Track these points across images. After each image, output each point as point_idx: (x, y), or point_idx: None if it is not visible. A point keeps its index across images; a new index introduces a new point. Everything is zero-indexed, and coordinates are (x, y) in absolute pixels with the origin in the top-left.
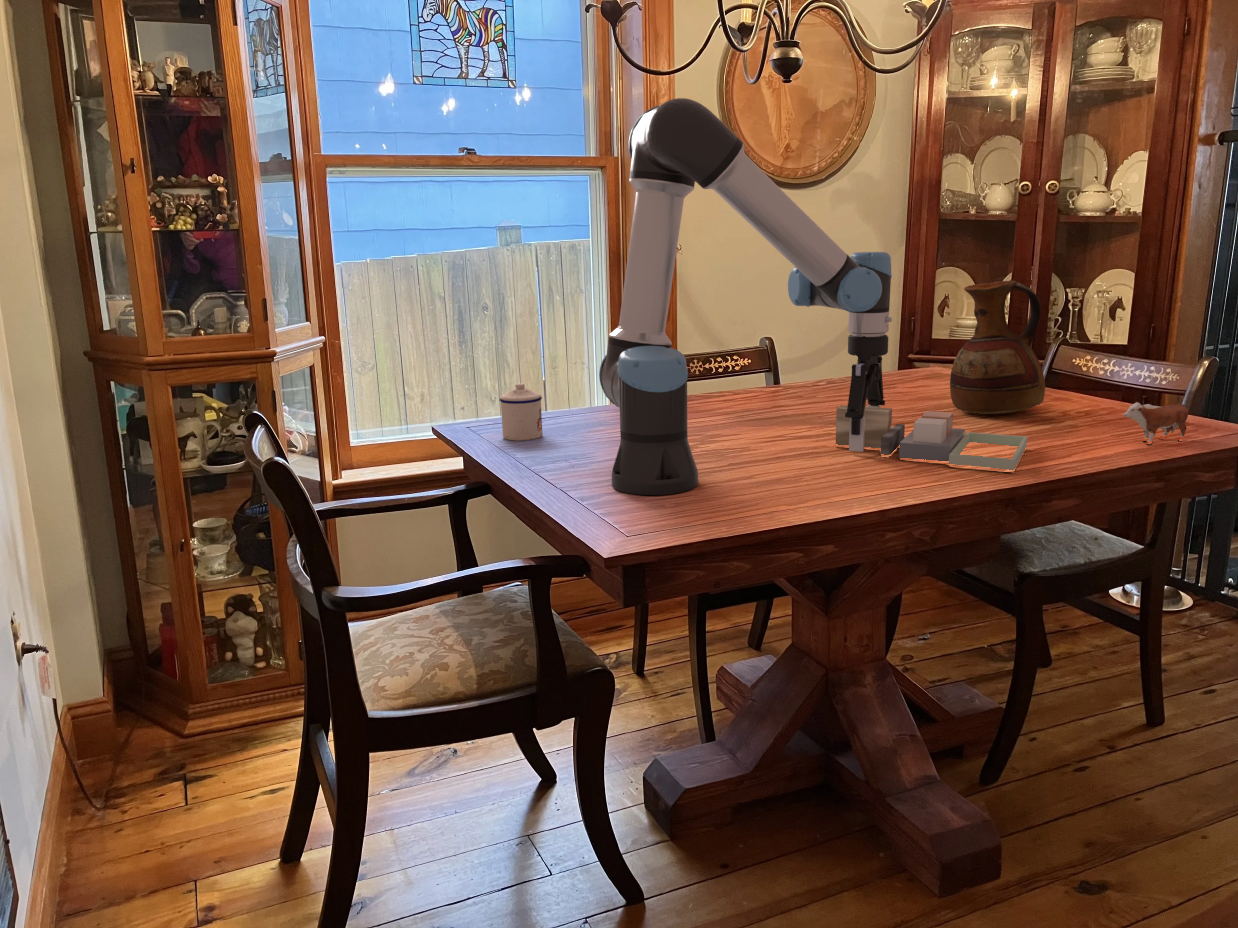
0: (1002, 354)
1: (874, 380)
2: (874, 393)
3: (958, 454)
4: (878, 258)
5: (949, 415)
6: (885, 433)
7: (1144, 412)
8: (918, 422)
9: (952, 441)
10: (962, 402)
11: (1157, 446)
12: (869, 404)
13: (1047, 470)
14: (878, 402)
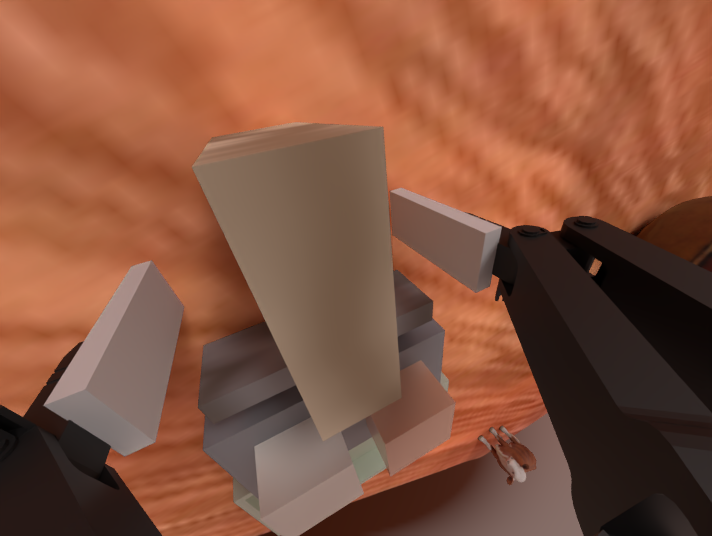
0: None
1: (594, 508)
2: (530, 333)
3: (248, 504)
4: None
5: (416, 458)
6: (271, 374)
7: (509, 474)
8: (277, 516)
9: None
10: (656, 245)
11: (475, 442)
12: (509, 236)
13: None
14: (503, 291)
